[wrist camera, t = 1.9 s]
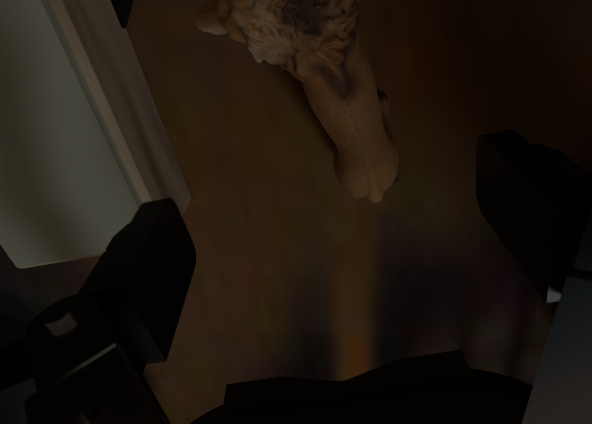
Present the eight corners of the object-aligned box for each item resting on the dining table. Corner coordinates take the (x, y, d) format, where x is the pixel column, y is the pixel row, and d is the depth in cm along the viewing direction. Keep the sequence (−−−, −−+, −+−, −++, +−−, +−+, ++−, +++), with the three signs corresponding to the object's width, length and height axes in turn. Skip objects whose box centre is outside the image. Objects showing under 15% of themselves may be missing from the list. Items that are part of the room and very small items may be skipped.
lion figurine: (208, -17, 21) (155, 4, 13) (298, -93, 19) (296, -121, 11) (360, 197, 27) (384, 295, 19) (437, 154, 25) (496, 242, 18)
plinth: (101, -33, 20) (41, -27, 16) (191, 197, 27) (167, 250, 22) (-64, 8, 21) (-168, 25, 16) (62, 220, 28) (13, 275, 23)
